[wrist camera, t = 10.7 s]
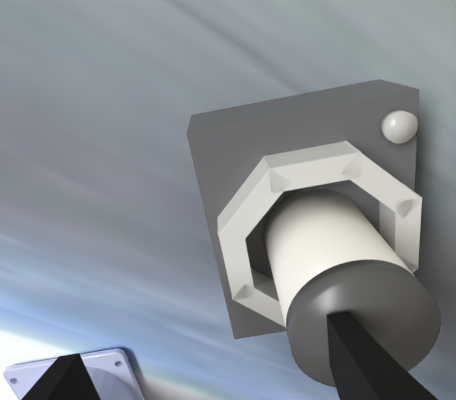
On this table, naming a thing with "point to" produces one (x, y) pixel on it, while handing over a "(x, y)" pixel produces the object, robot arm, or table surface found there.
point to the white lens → (343, 282)
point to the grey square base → (303, 179)
